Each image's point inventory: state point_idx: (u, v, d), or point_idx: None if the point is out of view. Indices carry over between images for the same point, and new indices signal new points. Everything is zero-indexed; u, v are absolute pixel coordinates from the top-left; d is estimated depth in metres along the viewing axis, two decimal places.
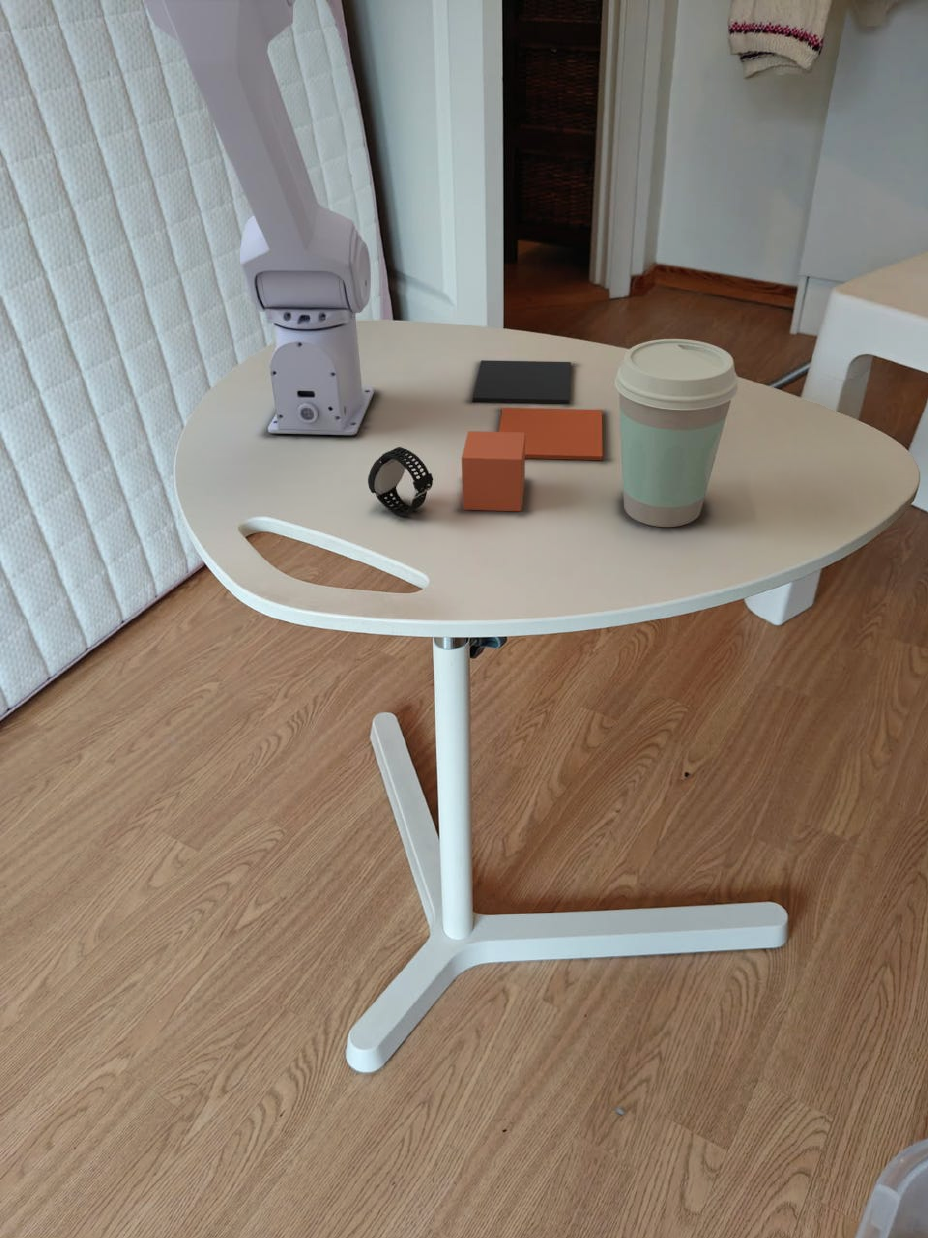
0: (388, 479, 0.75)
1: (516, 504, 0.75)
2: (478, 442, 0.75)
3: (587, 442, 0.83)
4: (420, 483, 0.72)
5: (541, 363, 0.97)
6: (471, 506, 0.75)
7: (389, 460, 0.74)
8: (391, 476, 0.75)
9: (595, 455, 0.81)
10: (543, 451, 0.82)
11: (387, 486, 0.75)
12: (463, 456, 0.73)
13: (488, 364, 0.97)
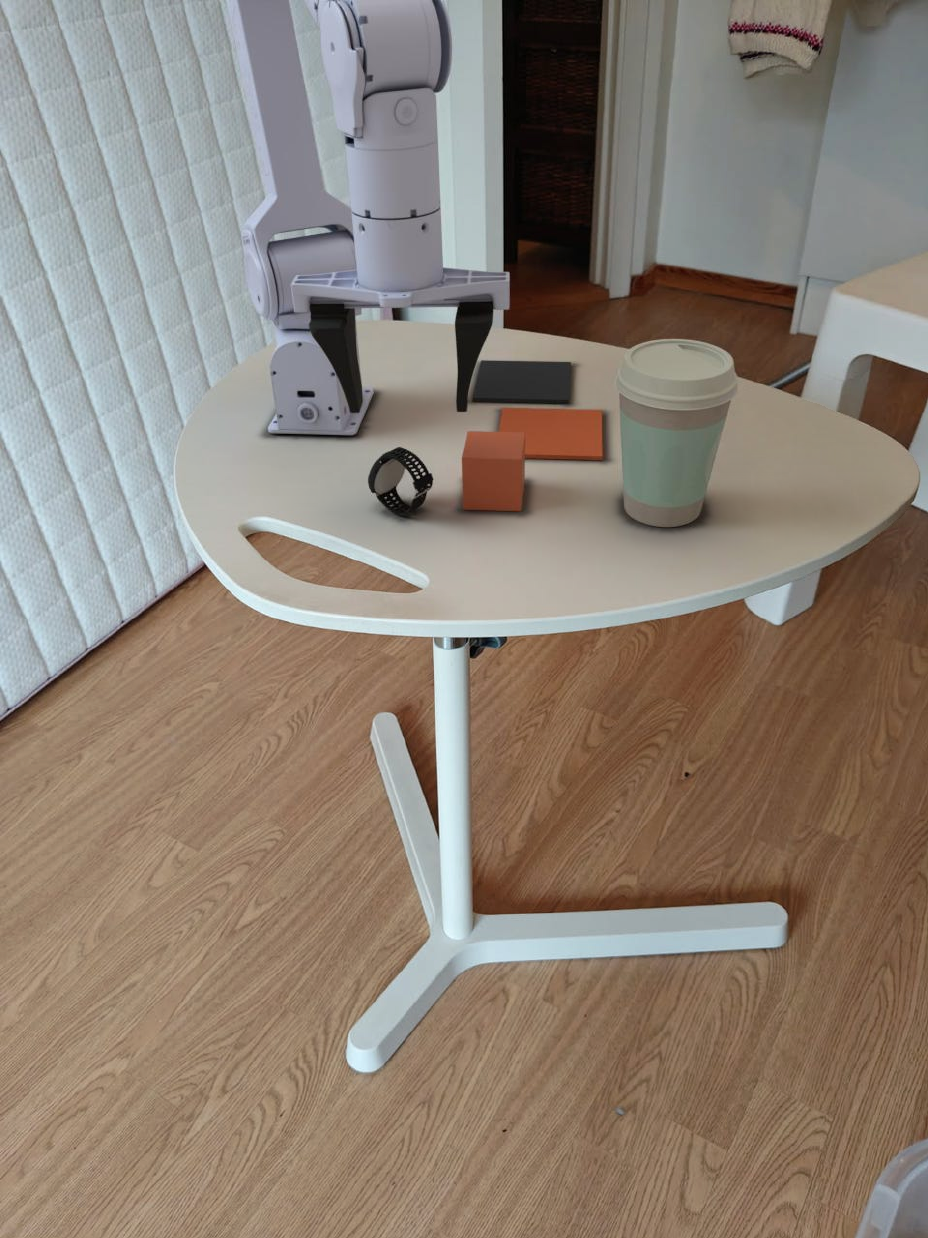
0: (388, 479, 0.75)
1: (516, 504, 0.75)
2: (478, 442, 0.75)
3: (587, 442, 0.83)
4: (420, 483, 0.72)
5: (541, 363, 0.97)
6: (471, 506, 0.75)
7: (389, 460, 0.74)
8: (391, 476, 0.75)
9: (595, 455, 0.81)
10: (543, 451, 0.82)
11: (387, 486, 0.75)
12: (463, 456, 0.73)
13: (488, 364, 0.97)
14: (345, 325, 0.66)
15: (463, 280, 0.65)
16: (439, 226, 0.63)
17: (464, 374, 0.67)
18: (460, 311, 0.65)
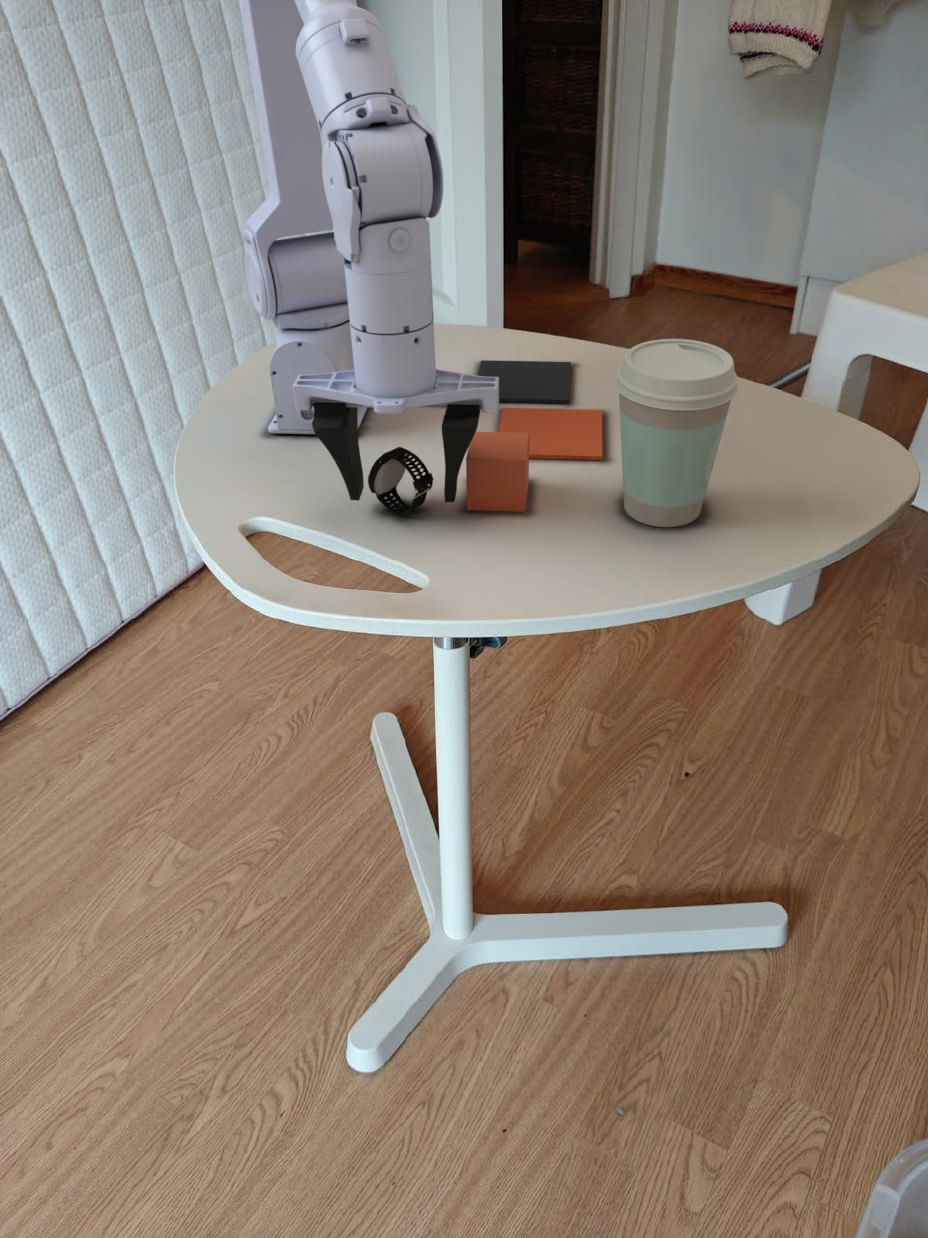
0: (388, 479, 0.75)
1: (520, 505, 0.75)
2: (482, 443, 0.75)
3: (587, 442, 0.83)
4: (420, 483, 0.72)
5: (541, 363, 0.97)
6: (475, 507, 0.76)
7: (389, 460, 0.74)
8: (391, 476, 0.75)
9: (595, 455, 0.81)
10: (543, 451, 0.82)
11: (387, 486, 0.75)
12: (467, 457, 0.73)
13: (488, 364, 0.97)
14: (346, 424, 0.70)
15: (454, 385, 0.69)
16: (431, 337, 0.67)
17: (451, 470, 0.71)
18: (448, 413, 0.69)
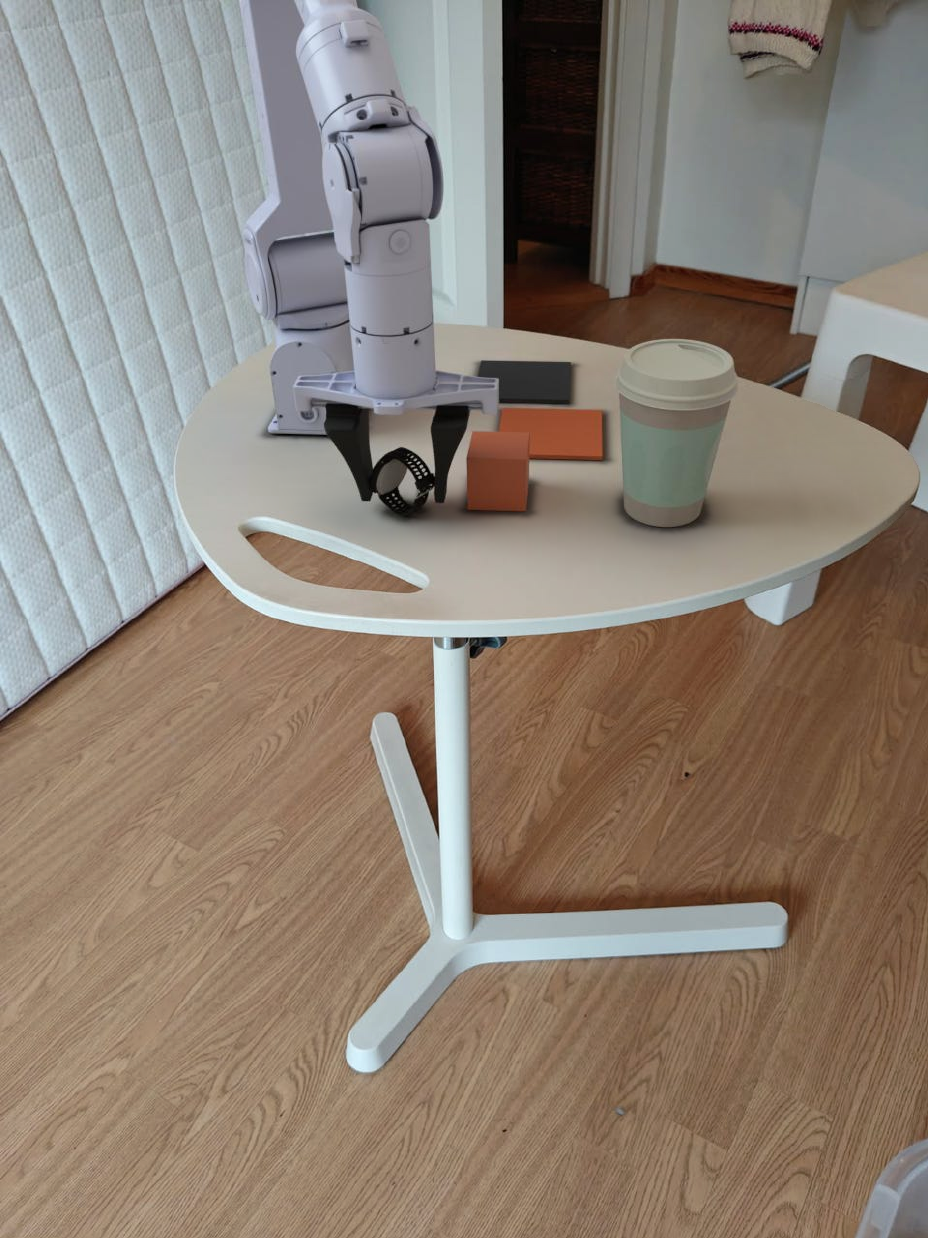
0: (390, 479, 0.75)
1: (520, 504, 0.75)
2: (482, 442, 0.75)
3: (587, 442, 0.83)
4: (422, 483, 0.72)
5: (541, 363, 0.97)
6: (475, 506, 0.75)
7: (391, 460, 0.74)
8: (393, 476, 0.75)
9: (595, 455, 0.81)
10: (543, 451, 0.82)
11: (389, 486, 0.75)
12: (468, 456, 0.73)
13: (488, 364, 0.97)
14: (358, 425, 0.70)
15: (454, 386, 0.69)
16: (431, 339, 0.67)
17: (441, 471, 0.71)
18: (437, 414, 0.70)
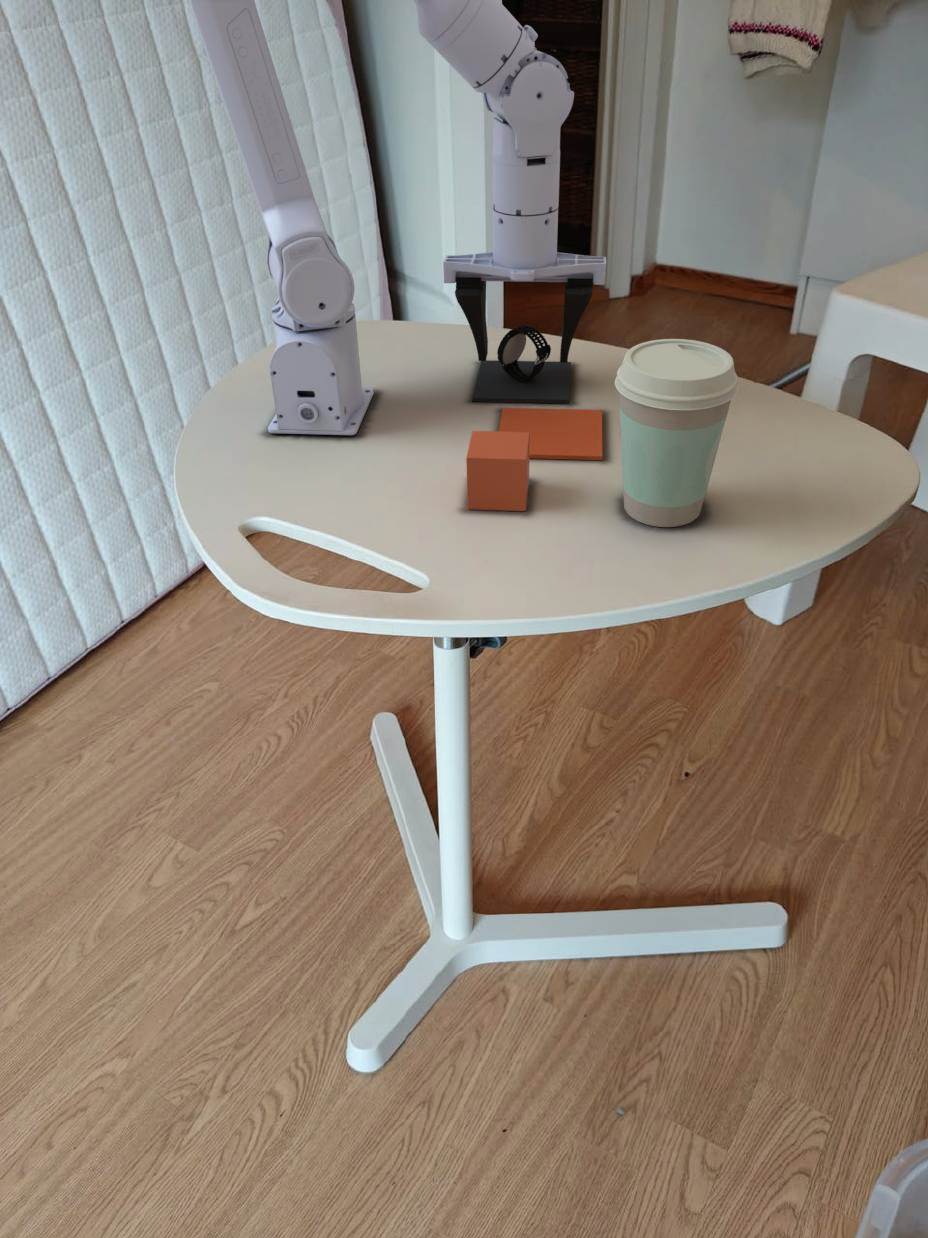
0: (513, 351, 0.93)
1: (521, 504, 0.75)
2: (482, 442, 0.75)
3: (587, 442, 0.83)
4: (541, 351, 0.91)
5: None
6: (475, 506, 0.75)
7: (515, 335, 0.92)
8: (515, 349, 0.93)
9: (595, 455, 0.81)
10: (543, 451, 0.82)
11: (511, 358, 0.94)
12: (468, 456, 0.73)
13: (488, 364, 0.97)
14: (481, 293, 0.88)
15: (571, 262, 0.87)
16: (556, 221, 0.85)
17: (568, 333, 0.90)
18: (568, 285, 0.88)
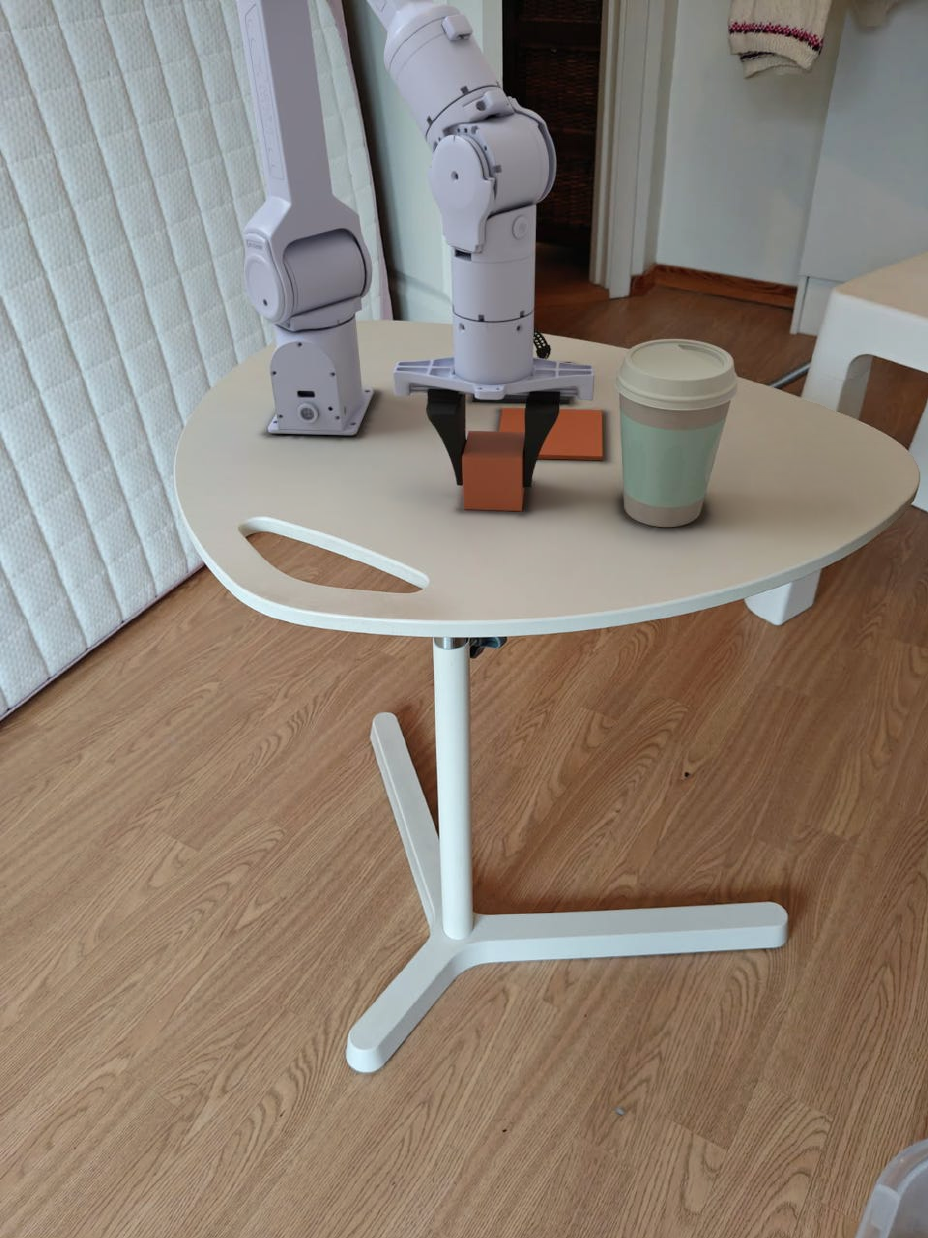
0: None
1: (516, 504, 0.75)
2: (478, 442, 0.75)
3: (587, 442, 0.83)
4: (542, 351, 0.91)
5: None
6: (472, 506, 0.76)
7: None
8: None
9: (595, 455, 0.81)
10: (543, 451, 0.82)
11: None
12: (463, 456, 0.73)
13: None
14: (459, 410, 0.71)
15: (551, 372, 0.70)
16: (532, 325, 0.68)
17: (530, 455, 0.73)
18: (529, 400, 0.71)
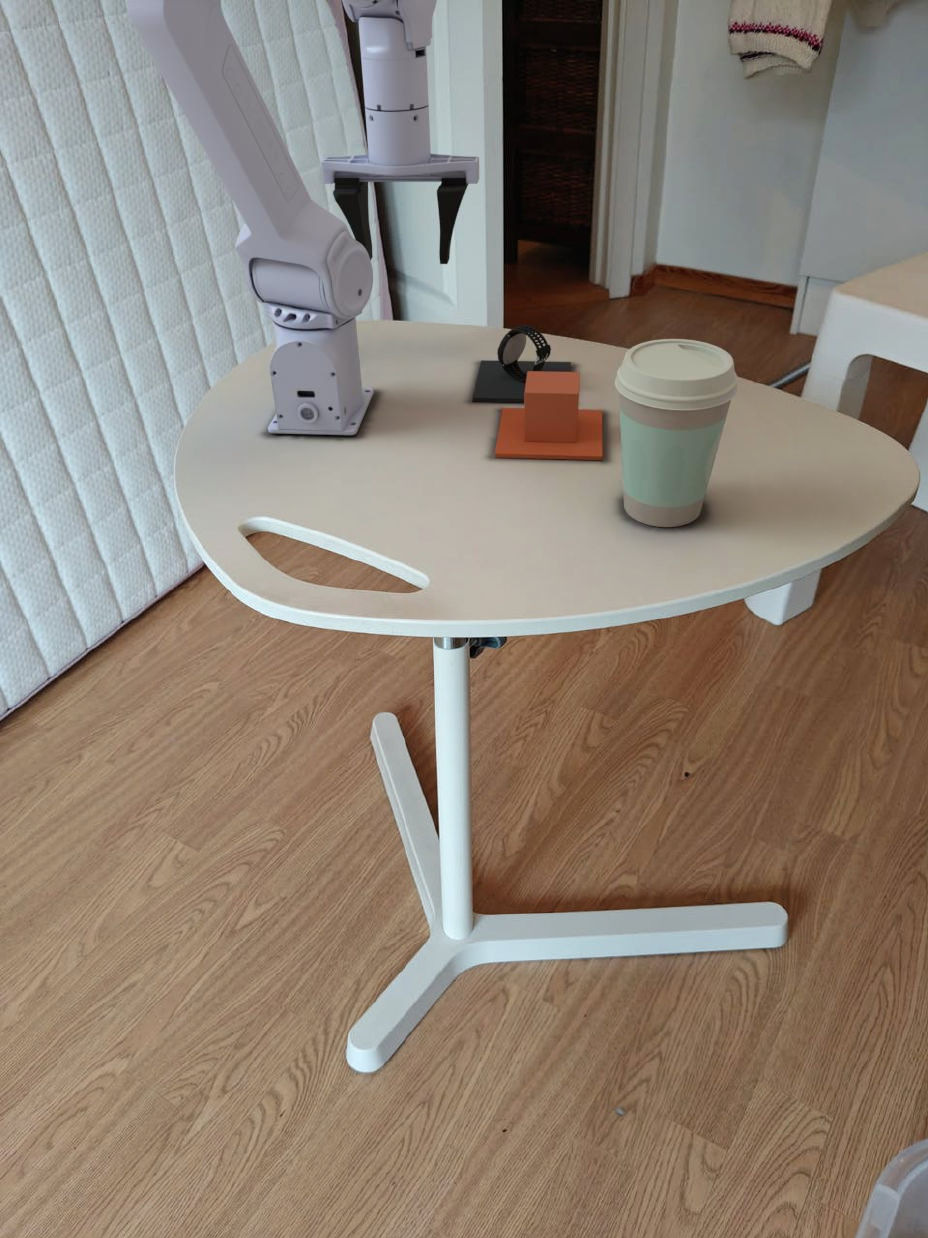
0: (513, 351, 0.93)
1: (572, 436, 0.83)
2: (538, 380, 0.83)
3: (587, 442, 0.83)
4: (542, 351, 0.91)
5: None
6: (531, 438, 0.84)
7: (515, 335, 0.92)
8: (515, 349, 0.93)
9: (595, 455, 0.81)
10: (543, 451, 0.82)
11: (511, 358, 0.94)
12: (526, 391, 0.81)
13: (488, 364, 0.97)
14: None
15: None
16: None
17: None
18: None
